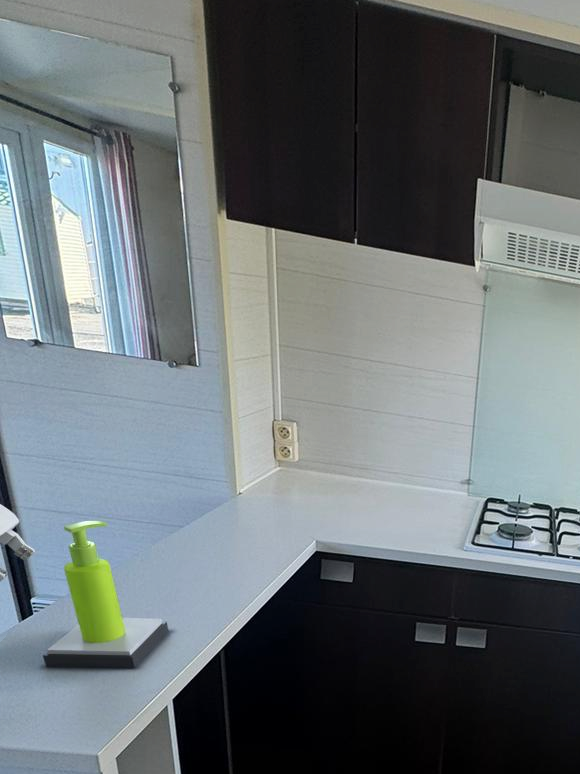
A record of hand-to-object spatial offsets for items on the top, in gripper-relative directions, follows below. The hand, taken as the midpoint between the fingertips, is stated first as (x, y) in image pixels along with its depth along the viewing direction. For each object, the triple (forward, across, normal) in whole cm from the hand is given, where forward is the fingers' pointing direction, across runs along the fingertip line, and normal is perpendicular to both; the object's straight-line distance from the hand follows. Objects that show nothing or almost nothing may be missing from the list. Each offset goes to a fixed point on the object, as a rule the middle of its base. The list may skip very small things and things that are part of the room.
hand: (17, 567), depth 100 cm
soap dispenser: (+16, 0, +2) cm, 16 cm away
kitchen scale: (+18, 0, +4) cm, 18 cm away
